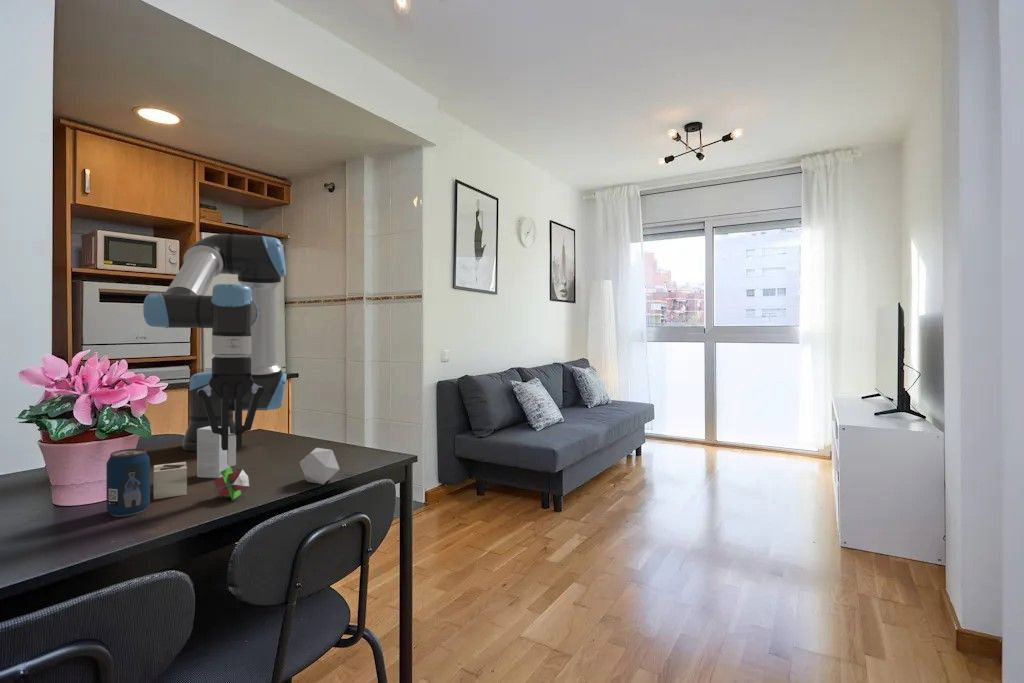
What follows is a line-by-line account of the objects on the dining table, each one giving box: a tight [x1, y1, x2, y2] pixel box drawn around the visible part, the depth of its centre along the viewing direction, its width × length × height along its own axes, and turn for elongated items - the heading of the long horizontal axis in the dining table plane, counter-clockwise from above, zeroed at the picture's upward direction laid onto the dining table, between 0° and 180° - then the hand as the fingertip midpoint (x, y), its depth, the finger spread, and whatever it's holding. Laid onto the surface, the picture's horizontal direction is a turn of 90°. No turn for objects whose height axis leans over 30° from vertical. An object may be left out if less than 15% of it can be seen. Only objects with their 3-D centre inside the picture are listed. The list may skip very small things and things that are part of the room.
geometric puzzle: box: [212, 466, 251, 501], centre depth 111 cm, size 7×7×8 cm
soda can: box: [105, 448, 151, 518], centre depth 102 cm, size 7×7×12 cm
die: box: [298, 447, 341, 485], centre depth 123 cm, size 8×9×10 cm
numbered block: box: [153, 461, 188, 500], centre depth 113 cm, size 6×6×6 cm
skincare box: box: [196, 426, 230, 479], centre depth 126 cm, size 6×4×12 cm
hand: (231, 464), depth 111 cm, fingers closed
